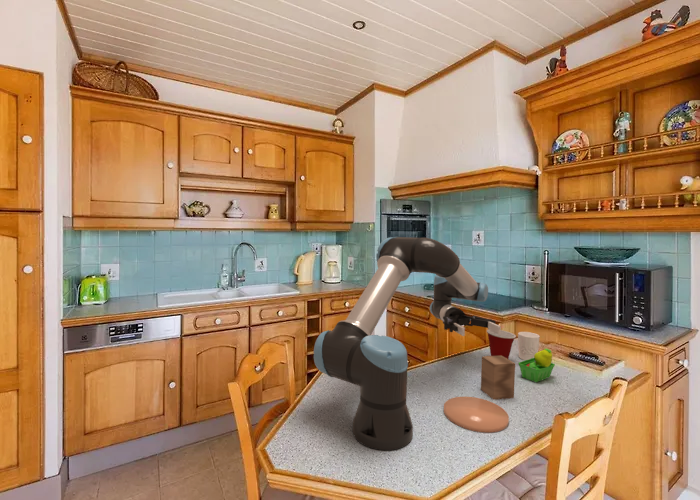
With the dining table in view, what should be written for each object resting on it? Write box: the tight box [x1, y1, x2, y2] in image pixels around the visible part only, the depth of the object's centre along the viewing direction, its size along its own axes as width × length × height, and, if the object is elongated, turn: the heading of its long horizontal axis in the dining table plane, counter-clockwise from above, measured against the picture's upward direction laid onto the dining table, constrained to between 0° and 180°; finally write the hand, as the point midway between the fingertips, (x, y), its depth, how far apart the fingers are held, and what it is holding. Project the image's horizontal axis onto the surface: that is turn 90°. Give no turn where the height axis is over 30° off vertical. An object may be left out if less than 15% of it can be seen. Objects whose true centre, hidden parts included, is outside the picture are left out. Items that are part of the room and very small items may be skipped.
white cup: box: [517, 331, 541, 361], centre depth 141 cm, size 8×8×10 cm
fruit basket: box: [518, 347, 556, 383], centre depth 122 cm, size 11×9×11 cm
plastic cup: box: [486, 329, 517, 360], centre depth 137 cm, size 11×11×12 cm
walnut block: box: [480, 355, 516, 401], centre depth 109 cm, size 7×7×11 cm
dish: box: [443, 396, 510, 434], centre depth 96 cm, size 17×17×1 cm
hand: (481, 331), depth 118 cm, fingers open, 13 cm apart
